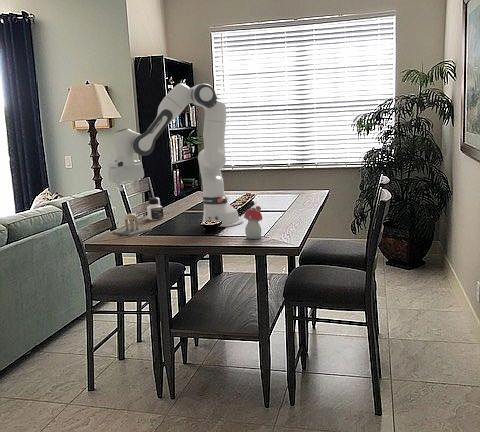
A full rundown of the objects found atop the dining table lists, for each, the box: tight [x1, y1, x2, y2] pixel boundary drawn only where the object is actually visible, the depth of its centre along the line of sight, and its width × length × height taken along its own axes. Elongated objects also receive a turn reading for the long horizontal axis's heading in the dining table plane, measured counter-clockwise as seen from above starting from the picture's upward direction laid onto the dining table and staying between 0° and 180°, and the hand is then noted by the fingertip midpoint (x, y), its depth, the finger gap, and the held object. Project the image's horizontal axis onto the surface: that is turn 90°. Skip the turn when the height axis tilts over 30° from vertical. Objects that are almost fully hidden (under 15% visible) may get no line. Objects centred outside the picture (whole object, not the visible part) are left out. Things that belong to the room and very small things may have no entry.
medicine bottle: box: [146, 197, 164, 221], centre depth 313 cm, size 7×7×12 cm
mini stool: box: [124, 213, 139, 231], centre depth 281 cm, size 6×6×8 cm
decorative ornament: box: [243, 205, 263, 240], centre depth 251 cm, size 9×7×15 cm
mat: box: [112, 225, 153, 237], centre depth 282 cm, size 14×14×1 cm
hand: (128, 189), depth 278 cm, fingers open, 8 cm apart
